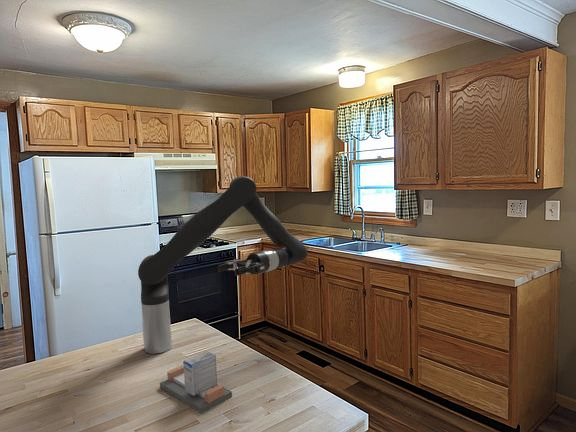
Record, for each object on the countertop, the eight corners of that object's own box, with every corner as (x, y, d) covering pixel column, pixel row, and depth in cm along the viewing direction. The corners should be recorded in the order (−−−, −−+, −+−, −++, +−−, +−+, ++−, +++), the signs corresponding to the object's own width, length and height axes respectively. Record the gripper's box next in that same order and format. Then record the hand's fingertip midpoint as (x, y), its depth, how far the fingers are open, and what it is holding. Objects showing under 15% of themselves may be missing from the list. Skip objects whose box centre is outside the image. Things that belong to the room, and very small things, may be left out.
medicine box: (208, 379, 113) (206, 350, 112) (218, 384, 110) (216, 354, 109) (184, 391, 107) (182, 360, 107) (194, 396, 104) (192, 365, 104)
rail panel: (160, 387, 114) (159, 374, 114) (189, 374, 121) (188, 362, 121) (201, 413, 101) (200, 399, 100) (231, 396, 108) (231, 382, 108)
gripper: (248, 249, 143) (212, 256, 131) (277, 253, 134) (241, 261, 122) (249, 269, 144) (213, 278, 132) (278, 274, 134) (242, 285, 122)
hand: (226, 270), depth 127 cm, fingers open, 8 cm apart
